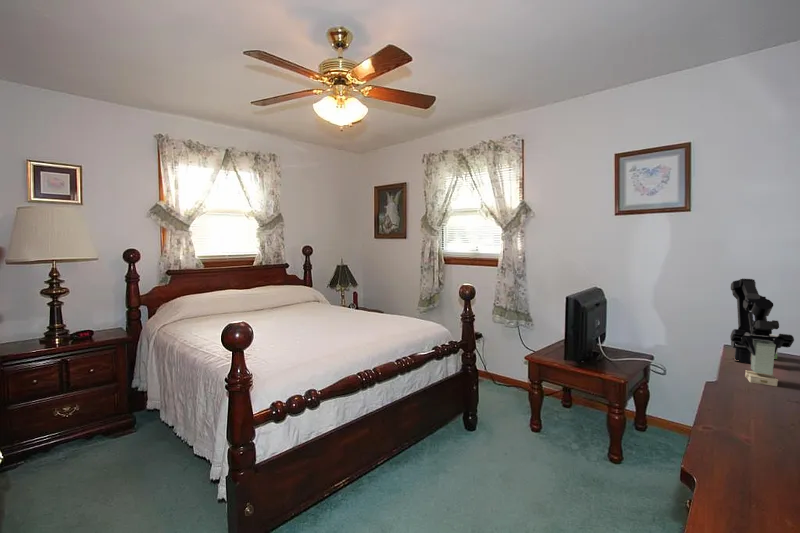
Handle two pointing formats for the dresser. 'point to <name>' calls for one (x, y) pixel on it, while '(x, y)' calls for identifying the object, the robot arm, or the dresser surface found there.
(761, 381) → the jewelry box
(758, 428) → the dresser surface
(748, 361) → the robot arm
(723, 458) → the dresser surface
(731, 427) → the dresser surface
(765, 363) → the green lidded box
